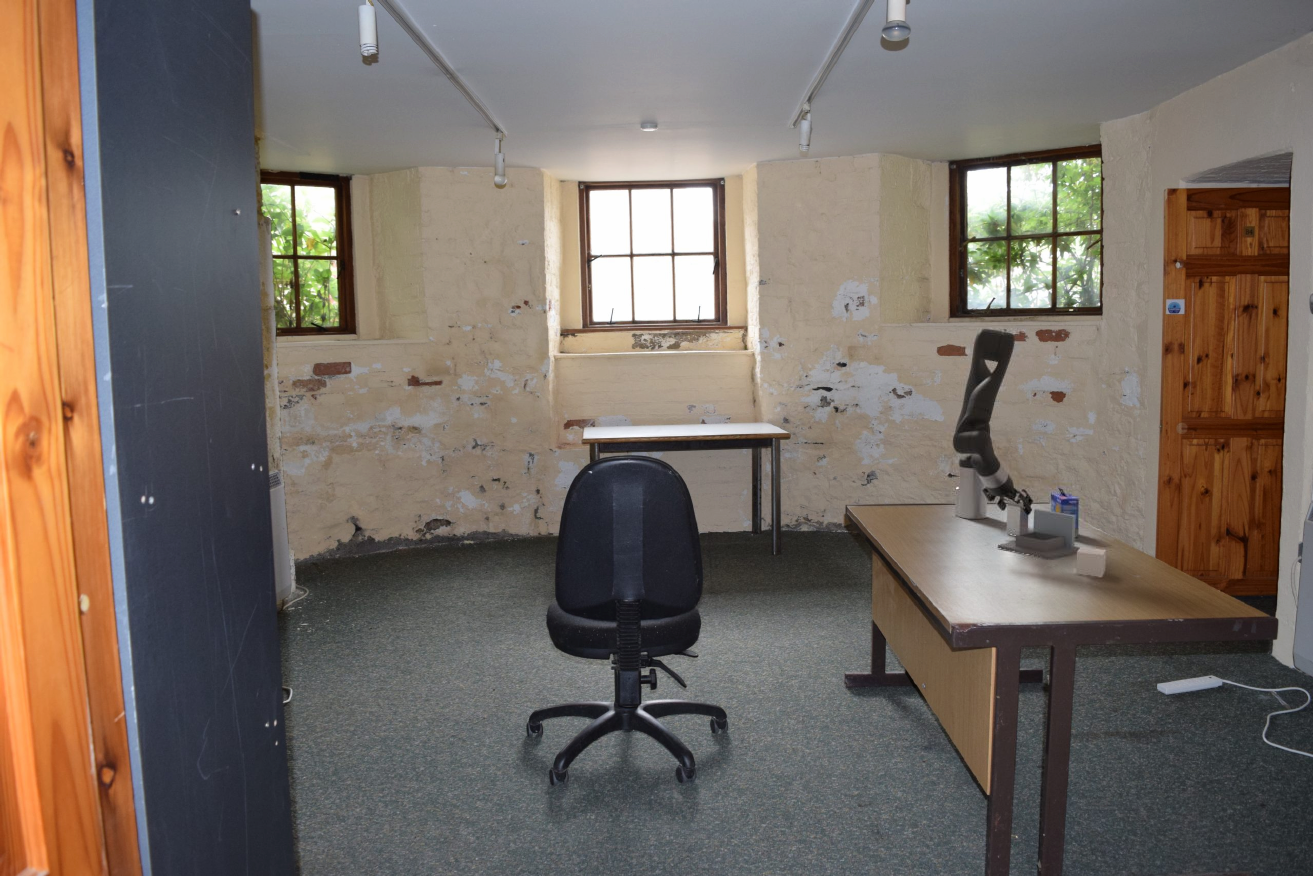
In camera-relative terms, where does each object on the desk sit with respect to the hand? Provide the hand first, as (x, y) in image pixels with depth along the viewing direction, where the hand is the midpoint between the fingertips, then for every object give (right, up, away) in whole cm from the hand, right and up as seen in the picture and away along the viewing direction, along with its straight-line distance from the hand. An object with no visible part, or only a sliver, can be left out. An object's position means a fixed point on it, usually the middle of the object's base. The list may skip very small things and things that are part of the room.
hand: (1016, 510), depth 268 cm
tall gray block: (+1, -8, +1) cm, 8 cm away
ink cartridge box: (+15, -8, +1) cm, 17 cm away
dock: (-1, -10, -18) cm, 20 cm away
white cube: (+1, -13, -42) cm, 44 cm away
